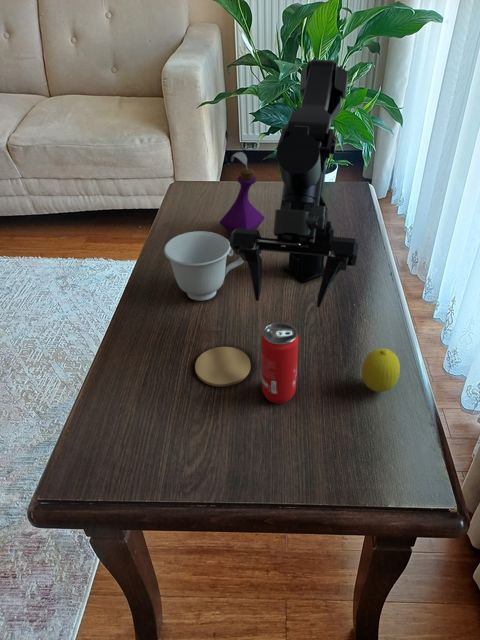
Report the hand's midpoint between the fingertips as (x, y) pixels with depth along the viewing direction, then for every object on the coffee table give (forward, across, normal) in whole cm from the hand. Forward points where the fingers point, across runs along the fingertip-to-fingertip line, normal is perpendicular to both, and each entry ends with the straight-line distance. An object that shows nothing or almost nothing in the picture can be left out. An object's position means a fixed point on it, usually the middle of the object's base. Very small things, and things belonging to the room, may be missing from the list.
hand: (287, 303), depth 78 cm
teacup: (-4, -18, +21) cm, 28 cm away
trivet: (+10, -10, +7) cm, 16 cm away
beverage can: (+14, 0, +4) cm, 14 cm away
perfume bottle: (-21, -16, +38) cm, 47 cm away
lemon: (+11, +15, +6) cm, 20 cm away
